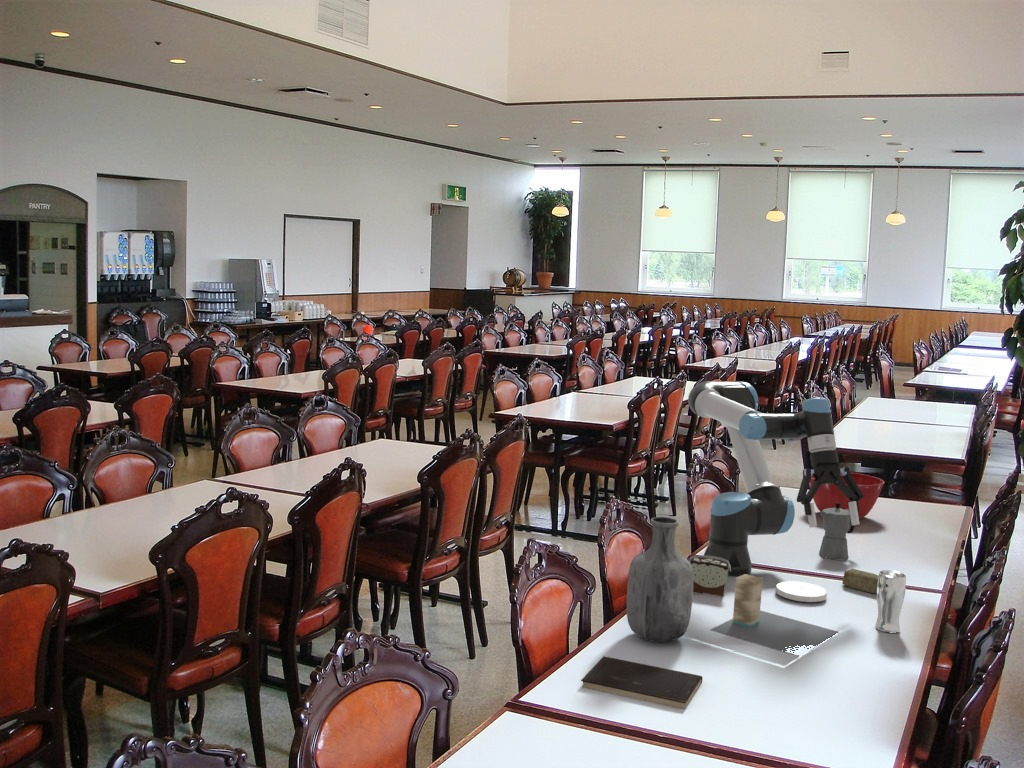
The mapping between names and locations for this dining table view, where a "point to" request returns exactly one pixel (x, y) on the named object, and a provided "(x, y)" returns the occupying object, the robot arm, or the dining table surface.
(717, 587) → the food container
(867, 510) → the mixing bowl
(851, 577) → the stone block
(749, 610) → the maple block
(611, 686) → the hardcover book
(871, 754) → the dining table surface
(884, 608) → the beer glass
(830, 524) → the coffeepot
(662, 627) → the vase
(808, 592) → the plastic lid
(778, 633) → the mat
